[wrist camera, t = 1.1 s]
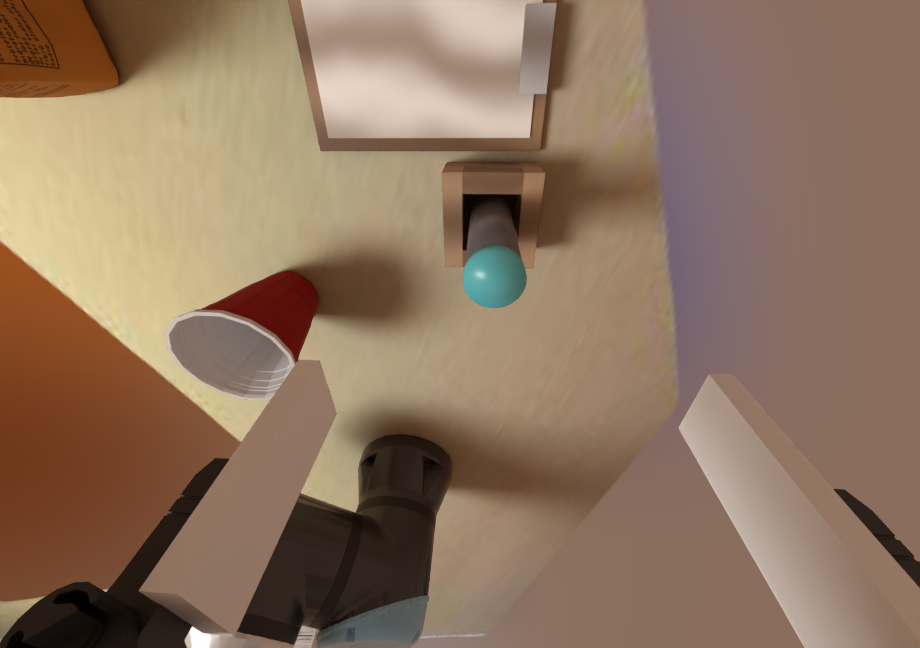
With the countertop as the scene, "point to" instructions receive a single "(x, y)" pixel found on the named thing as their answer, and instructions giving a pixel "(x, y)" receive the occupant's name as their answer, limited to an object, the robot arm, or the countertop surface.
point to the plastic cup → (246, 336)
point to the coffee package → (51, 50)
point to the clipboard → (426, 72)
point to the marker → (493, 255)
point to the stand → (491, 181)
